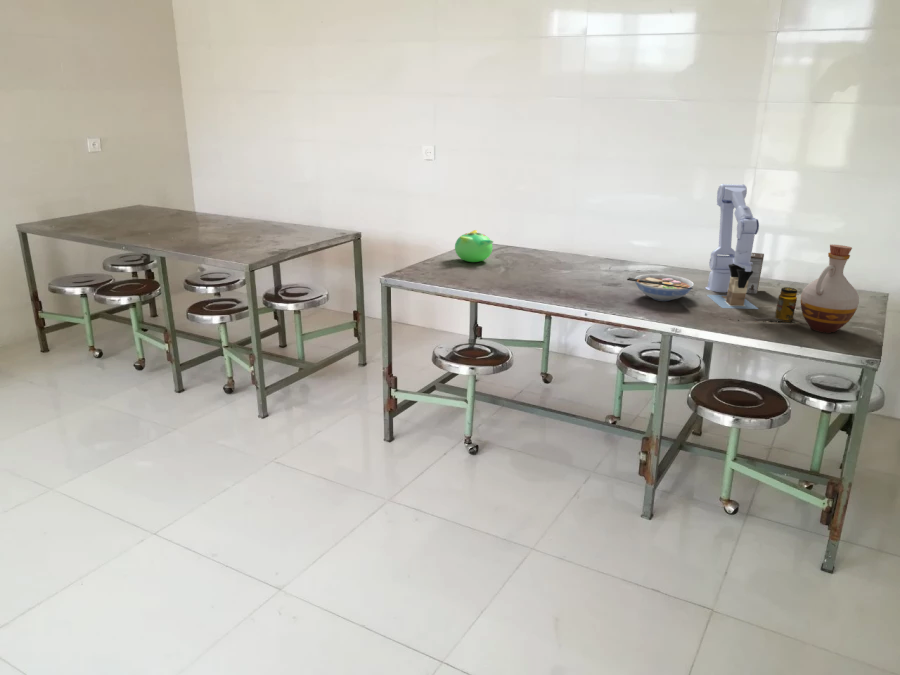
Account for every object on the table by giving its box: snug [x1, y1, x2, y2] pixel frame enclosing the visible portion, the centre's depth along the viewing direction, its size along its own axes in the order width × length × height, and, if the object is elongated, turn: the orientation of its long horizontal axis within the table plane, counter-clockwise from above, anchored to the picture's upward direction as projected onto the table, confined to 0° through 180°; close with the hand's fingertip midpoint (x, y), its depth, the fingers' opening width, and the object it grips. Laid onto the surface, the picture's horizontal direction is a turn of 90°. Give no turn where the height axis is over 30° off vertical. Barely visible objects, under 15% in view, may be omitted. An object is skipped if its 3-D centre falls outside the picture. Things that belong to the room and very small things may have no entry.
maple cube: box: [728, 277, 748, 294], centre depth 260 cm, size 5×5×5 cm
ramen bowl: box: [626, 273, 695, 302], centre depth 270 cm, size 25×23×8 cm
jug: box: [800, 244, 860, 334], centre depth 233 cm, size 20×18×30 cm
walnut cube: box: [726, 290, 747, 306], centre depth 262 cm, size 5×5×5 cm
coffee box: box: [746, 252, 765, 294], centre depth 280 cm, size 9×6×16 cm
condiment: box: [770, 286, 798, 325], centre depth 246 cm, size 7×8×12 cm
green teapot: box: [454, 229, 494, 263], centre depth 322 cm, size 18×17×15 cm
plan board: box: [706, 294, 759, 310], centre depth 266 cm, size 18×14×1 cm
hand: (737, 285), depth 260 cm, fingers open, 6 cm apart
